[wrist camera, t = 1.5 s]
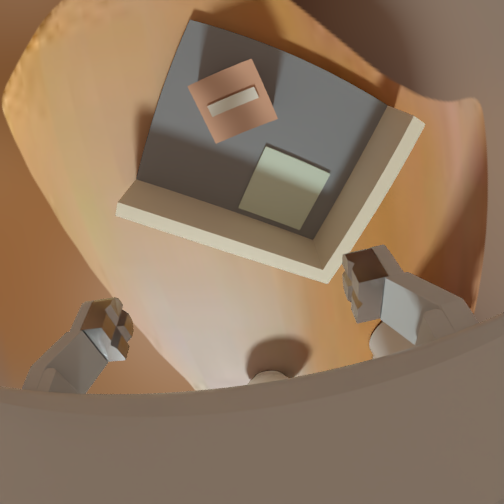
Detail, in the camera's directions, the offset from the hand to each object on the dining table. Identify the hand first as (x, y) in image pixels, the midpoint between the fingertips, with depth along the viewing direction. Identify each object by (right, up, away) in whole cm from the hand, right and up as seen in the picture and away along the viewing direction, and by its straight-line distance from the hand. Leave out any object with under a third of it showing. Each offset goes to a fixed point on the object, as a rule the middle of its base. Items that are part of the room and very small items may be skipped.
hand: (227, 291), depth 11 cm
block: (-1, +16, +16) cm, 23 cm away
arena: (+2, +13, +20) cm, 24 cm away
